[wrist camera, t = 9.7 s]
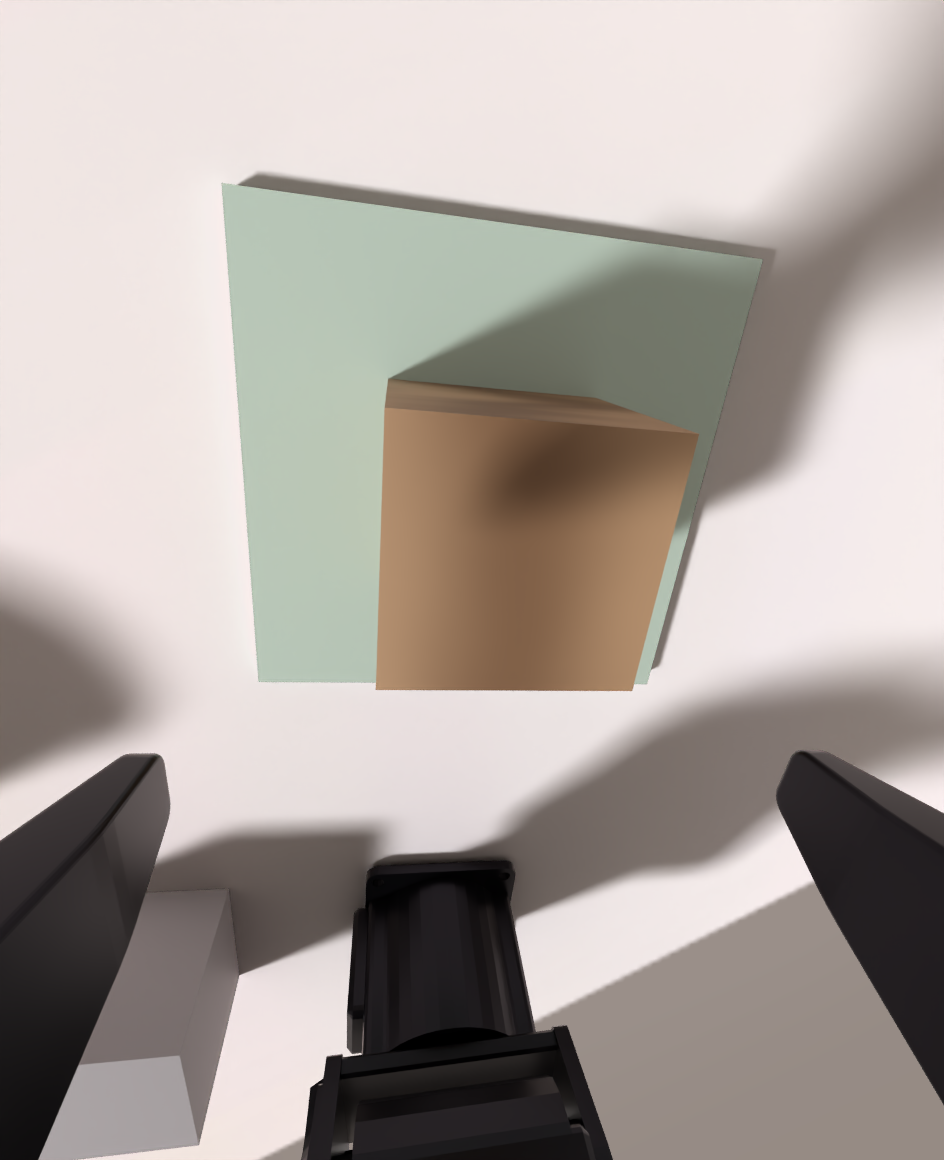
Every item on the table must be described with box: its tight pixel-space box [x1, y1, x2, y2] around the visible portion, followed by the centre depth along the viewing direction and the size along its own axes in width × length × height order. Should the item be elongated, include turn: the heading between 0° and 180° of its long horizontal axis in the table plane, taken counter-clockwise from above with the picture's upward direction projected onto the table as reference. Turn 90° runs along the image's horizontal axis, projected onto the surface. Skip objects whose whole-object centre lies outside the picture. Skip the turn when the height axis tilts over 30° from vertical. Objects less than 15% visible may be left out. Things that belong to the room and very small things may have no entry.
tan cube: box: [376, 379, 699, 691], centre depth 14 cm, size 6×6×6 cm
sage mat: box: [222, 183, 763, 684], centre depth 17 cm, size 14×14×1 cm
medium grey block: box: [39, 888, 239, 1160], centre depth 21 cm, size 6×6×6 cm
